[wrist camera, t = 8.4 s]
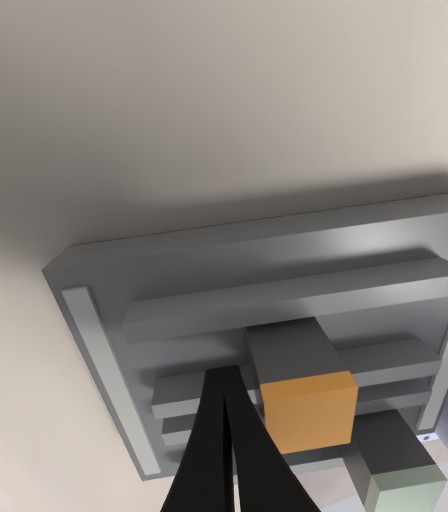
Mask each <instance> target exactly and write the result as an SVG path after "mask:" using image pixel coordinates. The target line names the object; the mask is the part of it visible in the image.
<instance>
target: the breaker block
mask: <svg viewBox="0 0 448 512" xmlns="http://www.w3.org/2000/svg"><path fill="white" fill-rule="evenodd" d="M42 272H43V274H44V276H45V278H46V280H47V282H48V285H49V287H50V289H51V291H52V293H53V295H54V297H55V299H56V301H57V303H58V306H59V308H60V310H61V312H62V314H63V316H64V318H65V320H66V322H67V324H68V327H69V329H70V331H71V333H72V335H73V337H74V339H75V341H76V343H77V345H78V348H79V350H80V352H81V354H82V356H83V358H84V360H85V362H86V364H87V366H88V369H89V371H90V373H91V375H92V377H93V379H94V381H95V383H96V385H97V387H98V390H99V392H100V394H101V396H102V398H103V400H104V402H105V404H106V406H107V408H108V411H109V413H110V415H111V417H112V419H113V421H114V423H115V425H116V427H117V429H118V432H119V434H120V436H121V438H122V440H123V442H124V444H125V446H126V448H127V450H128V453H129V455H130V457H131V459H132V461H133V463H134V465H135V467H136V469H137V471H138V474H139V476H140V478H141V480H142V481H146V480H152V479H158V478H164V477H170V476H176V473H177V470H178V468H179V465H180V462H181V460H182V457H183V454H184V451H185V448H186V445H187V442H188V439H189V437H190V434H191V431H192V427H193V424H194V420H195V417H196V413H197V410H198V406H199V402H200V398H201V394H202V389H203V383H204V377H205V371H206V370H207V369H213V368H219V367H226V366H232V365H237V366H239V369H240V373H241V376H242V379H243V382H244V384H245V387H246V389H247V391H248V394H249V396H250V398H251V400H252V403H253V405H254V407H255V409H256V411H257V412H258V414H259V411H258V407H257V402H256V397H255V393H254V388H253V383H252V379H251V374H250V369H249V365H248V359H247V350H246V341H245V331H244V327H247V326H254V325H261V324H267V323H274V322H281V321H287V320H294V319H301V318H307V317H315V318H316V320H317V321H318V323H319V324H320V326H321V328H322V329H323V331H324V332H325V334H326V335H327V337H328V339H329V340H330V342H331V343H332V345H333V347H334V348H335V350H336V351H337V353H338V354H339V356H340V358H341V359H342V361H343V362H344V364H345V365H346V367H347V369H348V370H349V372H350V373H351V375H352V376H353V378H354V380H355V381H356V383H357V384H358V386H359V388H358V394H357V401H356V407H355V413H354V420H353V426H352V433H351V439H350V443H347V444H341V445H335V446H328V447H322V448H316V449H310V450H304V451H298V452H292V453H286V454H281V455H282V456H283V458H284V459H285V461H286V462H287V464H288V466H289V467H290V469H291V470H292V472H293V473H294V475H295V474H301V473H307V472H313V471H319V470H325V469H331V468H337V467H343V466H346V468H347V470H348V472H349V474H350V477H351V479H352V481H353V483H354V486H355V488H356V490H357V492H358V495H359V497H360V499H361V501H362V504H363V506H364V508H365V510H366V512H432V511H433V510H434V508H435V505H436V503H437V501H438V499H439V497H440V495H441V493H442V491H443V489H444V487H445V485H446V482H447V478H446V477H445V476H444V474H443V473H442V471H441V470H440V469H439V467H438V466H437V465H436V463H435V462H434V460H433V459H432V458H431V456H430V455H429V453H428V452H427V451H426V449H425V448H424V446H423V445H422V444H421V442H420V441H419V439H418V438H417V437H416V436H418V435H424V434H430V433H434V432H435V429H436V427H437V424H438V421H439V419H440V416H441V414H442V411H443V408H444V406H445V403H446V400H447V398H448V193H446V194H439V195H432V196H425V197H417V198H410V199H403V200H396V201H389V202H382V203H374V204H367V205H360V206H353V207H346V208H338V209H331V210H324V211H317V212H310V213H303V214H295V215H288V216H281V217H274V218H267V219H260V220H252V221H245V222H238V223H231V224H224V225H217V226H209V227H202V228H195V229H188V230H181V231H173V232H166V233H159V234H152V235H145V236H138V237H130V238H123V239H116V240H109V241H102V242H95V243H87V244H80V245H73V246H69V247H68V248H67V249H66V250H64V251H63V252H62V253H61V254H60V255H59V256H57V257H56V258H55V259H54V260H53V261H52V262H50V263H49V264H48V265H47V266H46V267H45V268H43V269H42ZM232 454H233V483H234V485H235V484H238V479H237V469H236V459H235V454H234V449H233V444H232Z"/></svg>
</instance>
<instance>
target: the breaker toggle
mask: <svg viewBox="0 0 448 512" xmlns="http://www.w3.org/2000/svg"><path fill="white" fill-rule="evenodd" d="M244 331H245V341H246V350H247V359H248V365H249V369H250V374H251V379H252V383H253V388H254V393H255V397H256V402H257V407H258V411H259V416H260V418H261V420H262V422H263V424H264V426H265V428H266V429H267V431H268V433H269V435H270V436H271V438H272V440H273V441H274V443H275V445H276V446H277V448H278V450H279V451H280V453H281V454H286V453H292V452H298V451H304V450H310V449H316V448H322V447H328V446H335V445H341V444H347V443H350V439H351V433H352V426H353V420H354V413H355V407H356V401H357V394H358V388H359V386H358V384H357V383H356V381H355V380H354V378H353V376H352V375H351V373H350V372H349V370H348V369H347V367H346V365H345V364H344V362H343V361H342V359H341V358H340V356H339V354H338V353H337V351H336V350H335V348H334V347H333V345H332V343H331V342H330V340H329V339H328V337H327V335H326V334H325V332H324V331H323V329H322V328H321V326H320V324H319V323H318V321H317V320H316V318H315V317H307V318H301V319H294V320H287V321H281V322H274V323H267V324H261V325H254V326H247V327H244Z"/></svg>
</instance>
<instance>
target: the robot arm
mask: <svg viewBox="0 0 448 512" xmlns="http://www.w3.org/2000/svg"><path fill="white" fill-rule="evenodd" d="M416 437H417V438H418V439H419V441H420V442H424V441H430V440H436V439H440V440H441V441H442V442H443V443H444V445H445V446H446V447H447V448H448V398H447V400H446V403H445V406H444V408H443V411H442V414H441V416H440V419H439V421H438V424H437V427H436V429H435V432H434V433H430V434H424V435H418V436H416ZM232 444H233V449H234V454H235V459H236V469H237V479H238V488H239V498H240V509H241V512H321V511H320V510H319V508H318V507H317V506H316V504H315V503H314V502H313V500H312V499H311V498H310V496H309V495H308V494H307V492H306V491H305V489H304V488H303V486H302V485H301V483H300V482H299V480H298V479H297V478H296V476H295V475H294V473H293V472H292V470H291V469H290V467H289V466H288V464H287V462H286V461H285V459H284V458H283V456H282V455H281V453H280V451H279V450H278V448H277V446H276V445H275V443H274V441H273V440H272V438H271V436H270V435H269V433H268V431H267V429H266V428H265V426H264V424H263V422H262V420H261V418H260V416H259V414H258V412H257V411H256V409H255V407H254V405H253V403H252V400H251V398H250V396H249V394H248V391H247V389H246V387H245V384H244V382H243V379H242V376H241V373H240V369H239V366H237V365H232V366H226V367H219V368H213V369H207V370H206V371H205V377H204V383H203V389H202V394H201V398H200V402H199V406H198V410H197V413H196V417H195V420H194V424H193V427H192V431H191V434H190V437H189V439H188V442H187V445H186V448H185V451H184V454H183V457H182V460H181V462H180V465H179V468H178V470H177V473H176V476H175V478H174V480H173V483H172V485H171V488H170V490H169V493H168V495H167V497H166V500H165V502H164V504H163V506H162V509H161V511H160V512H235V507H234V483H233V454H232Z"/></svg>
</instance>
